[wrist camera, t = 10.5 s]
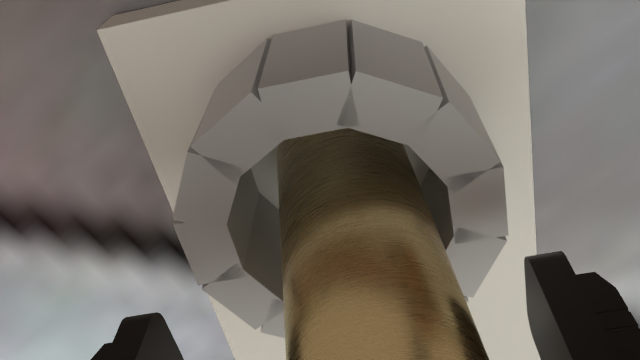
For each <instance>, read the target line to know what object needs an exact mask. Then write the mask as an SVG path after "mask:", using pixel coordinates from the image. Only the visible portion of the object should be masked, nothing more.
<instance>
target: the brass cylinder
mask: <svg viewBox="0 0 640 360" xmlns="http://www.w3.org/2000/svg"><path fill="white" fill-rule="evenodd" d="M277 173H278V195H279V217H280V239H281V261H282V283H283V305H284V327H285V349H286V360H489V358H488V355H487V353H486V350H485V348H484V345H483V343H482V340H481V338H480V335H479V333H478V330H477V328H476V325H475V323H474V320H473V318H472V315H471V313H470V310H469V308H468V305H467V303H466V300H465V298H464V295H463V293H462V290H461V288H460V285H459V283H458V280H457V278H456V275H455V273H454V270H453V268H452V265H451V262H450V260H449V257H448V255H447V252H446V250H445V247H444V245H443V242H442V240H441V237H440V235H439V232H438V230H437V227H436V225H435V222H434V220H433V217H432V215H431V212H430V210H429V207H428V205H427V202H426V200H425V197H424V195H423V192H422V190H421V187H420V185H419V182H418V180H417V177H416V175H415V172H414V170H413V167H412V165H411V162H410V160H409V157H408V155H407V152H406V150H405V147H404V145H403V144H401V143H398V142H395V141H391V140H388V139H384V138H381V137H378V136H374V135H371V134H367V133H364V132H361V131H357V130H354V129H350V128H344V129H339V130H334V131H328V132H323V133H318V134H312V135H307V136H302V137H297V138H291V139H286V140H284V141H283V142H281V143H280V144H279V146H278V149H277Z"/></svg>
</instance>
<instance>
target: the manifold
mask: <svg viewBox="0 0 640 360" xmlns="http://www.w3.org/2000/svg"><path fill="white" fill-rule="evenodd" d="M97 32H98V35H99V37H100V39H101V42H102V44H103V47H104V49H105V51H106V54H107V56H108V58H109V61H110V63H111V66H112V68H113V70H114V73H115V75H116V77H117V80H118V82H119V85H120V87H121V89H122V92H123V94H124V97H125V99H126V101H127V104H128V106H129V108H130V111H131V113H132V116H133V118H134V120H135V123H136V125H137V127H138V130H139V132H140V135H141V137H142V139H143V142H144V144H145V146H146V149H147V151H148V154H149V156H150V158H151V161H152V163H153V165H154V168H155V170H156V173H157V175H158V177H159V180H160V182H161V184H162V187H163V189H164V192H165V194H166V196H167V199H168V201H169V203H170V206H171V208H172V211H173V218H172V219H173V220H174V223H173V227H174V229H175V231H176V234H177V236H178V238H179V241H180V243H181V246H182V248H183V250H184V253H185V255H186V257H187V260H188V262H189V264H190V267H191V269H192V271H193V274H194V276H195V278H196V281H197V283H198V285H201V284H203V287H202V290H203V291H205V292H206V293H207V294H208V296H209V298H210V301H211V303H212V306H213V308H214V310H215V313H216V315H217V317H218V320H219V322H220V325H221V327H222V329H223V332H224V334H225V336H226V339H227V341H228V344H229V346H230V348H231V351H232V353H233V355H234V358H235V360H286V349H285V327H284V305H283V283H282V261H281V239H280V217H279V195H278V173H277V149H278V146H279V144H280V143H281V142H283V141H284V140H286V139H291V138H297V137H302V136H307V135H312V134H318V133H323V132H328V131H334V130H339V129H344V128H350V129H354V130H357V131H361V132H364V133H367V134H371V135H374V136H378V137H381V138H384V139H388V140H391V141H395V142H398V143H401V144H403V145H404V147H405V150H406V152H407V155H408V157H409V160H410V162H411V165H412V167H413V170H414V172H415V175H416V177H417V180H418V182H419V185H420V187H421V190H422V192H423V195H424V197H425V200H426V202H427V205H428V207H429V210H430V212H431V215H432V217H433V220H434V222H435V225H436V227H437V230H438V232H439V235H440V237H441V240H442V242H443V245H444V247H445V250H446V252H447V255H448V257H449V260H450V262H451V265H452V268H453V270H454V273H455V275H456V278H457V280H458V283H459V285H460V288H461V290H462V293H463V295H464V298H465V300H466V303H467V305H468V308H469V310H470V313H471V315H472V318H473V320H474V323H475V325H476V328H477V330H478V333H479V335H480V338H481V340H482V343H483V345H484V348H485V350H486V353H487V355H488V358H489V360H541V358H540V356H539V353H538V350H537V348H536V345H535V343H534V340H533V337H532V333H531V330H530V326H529V321H528V315H527V304H526V287H525V270H524V259H525V257H526V256H533V255H537V254H536V232H535V209H534V187H533V165H532V143H531V121H530V98H529V76H528V54H527V32H526V10H525V0H179V1H175V2H170V3H166V4H161V5H157V6H153V7H148V8H144V9H139V10H135V11H131V12H126V13H122V14H117V15H113V16H112V17H111V18H110V19H109V20H107V21H106V22H105V23H104V24H103V25H102V26H101V27H100V28H99V29H97Z"/></svg>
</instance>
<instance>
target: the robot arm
mask: <svg viewBox="0 0 640 360" xmlns="http://www.w3.org/2000/svg"><path fill="white" fill-rule="evenodd" d="M524 270H525V287H526V304H527V315H528V321H529V326H530V330H531V333H532V337H533V340H534V343H535V345H536V348H537V350H538V353H539V356H540V358H541V360H640V329H639V328H638V324H637V322H636V321H635V319H634V317H633V316H632V314H631V312H629V311H628V307H627V306H626V304H625V302H624V301H623V299H622V297H621V296H620V294H619V292H618V290H617V289H616V288H615V287H614V286H613V285H611V284H610V283H609V282H607V281H606V280H605V279H603V278H602V277H601V276H599V275H598V274H597V273H595V272H591V273H584V274H578V275H575V273H574V271H573V269H572V267H571V265H570V263H569V261H568V259H567V257H566V256H565V254H564V253H563V252H562V251H559V252H552V253H546V254H539V255H533V256H526V257H525V259H524ZM91 360H184V359H183V357H182V355H181V353H180V351H179V349H178V346H177V344H176V342H175V340H174V338H173V336H172V334H171V332H170V330H169V328H168V326H167V324H166V322H165V320H164V318H163V316H162V315H161V314H160V313H150V314H144V315H137V316H131V317H126V318H124V319H123V320H122V322H121V324H120V326H119V328H118V331H117V333H116V336H115V338H114V340H113V343H107V344H104V345H103V346H102V347H101V349H100V350H99V351H98V352H97V353H96V354H95V355H94V357H93V358H92V359H91Z"/></svg>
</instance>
